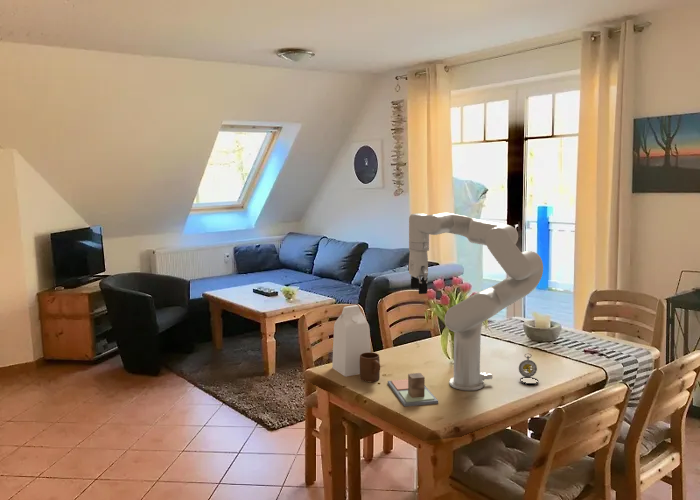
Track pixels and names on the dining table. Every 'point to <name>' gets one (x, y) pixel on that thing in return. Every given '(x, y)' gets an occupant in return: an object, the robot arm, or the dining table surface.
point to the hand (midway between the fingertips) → (418, 290)
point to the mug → (369, 367)
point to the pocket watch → (527, 369)
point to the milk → (350, 341)
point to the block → (416, 385)
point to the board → (402, 393)
